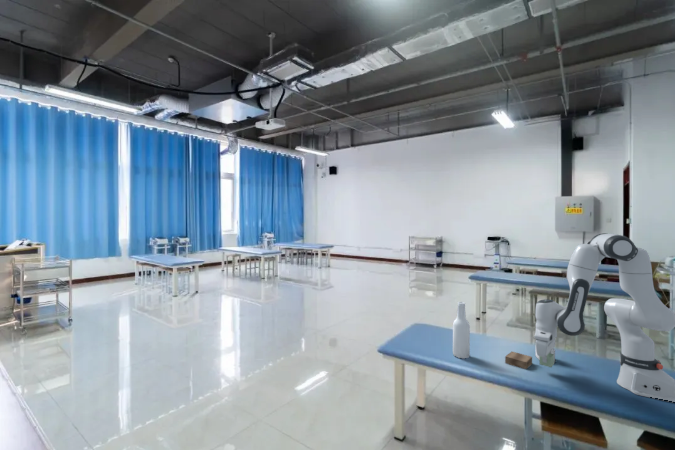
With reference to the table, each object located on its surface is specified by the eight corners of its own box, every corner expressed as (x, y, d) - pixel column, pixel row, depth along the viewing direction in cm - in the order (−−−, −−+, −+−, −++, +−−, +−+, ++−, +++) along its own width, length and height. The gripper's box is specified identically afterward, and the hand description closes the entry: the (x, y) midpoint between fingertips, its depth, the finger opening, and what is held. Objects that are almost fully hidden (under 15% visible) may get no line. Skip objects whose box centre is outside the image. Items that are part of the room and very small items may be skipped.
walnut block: (532, 364, 169) (532, 356, 169) (526, 370, 162) (526, 362, 162) (511, 358, 176) (511, 351, 176) (505, 363, 169) (505, 356, 169)
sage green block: (553, 364, 158) (553, 354, 158) (551, 367, 155) (551, 357, 155) (542, 361, 162) (542, 351, 162) (539, 364, 158) (539, 354, 158)
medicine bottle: (555, 362, 170) (555, 340, 170) (540, 361, 172) (540, 339, 172) (549, 357, 177) (549, 335, 177) (535, 356, 179) (535, 334, 179)
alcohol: (467, 360, 172) (467, 305, 172) (450, 356, 177) (451, 303, 177) (471, 355, 180) (471, 302, 180) (454, 351, 185) (455, 300, 185)
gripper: (544, 325, 168) (544, 352, 168) (533, 336, 153) (533, 364, 153) (558, 328, 163) (559, 355, 163) (548, 339, 149) (549, 368, 149)
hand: (546, 360), depth 158 cm, fingers closed on sage green block, 5 cm apart
